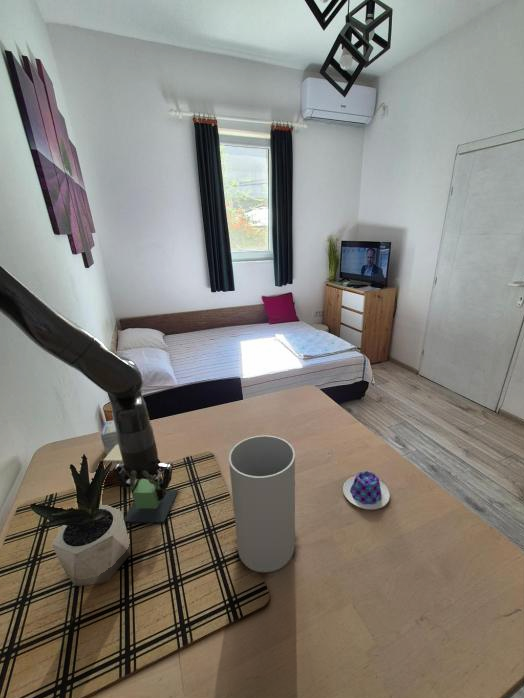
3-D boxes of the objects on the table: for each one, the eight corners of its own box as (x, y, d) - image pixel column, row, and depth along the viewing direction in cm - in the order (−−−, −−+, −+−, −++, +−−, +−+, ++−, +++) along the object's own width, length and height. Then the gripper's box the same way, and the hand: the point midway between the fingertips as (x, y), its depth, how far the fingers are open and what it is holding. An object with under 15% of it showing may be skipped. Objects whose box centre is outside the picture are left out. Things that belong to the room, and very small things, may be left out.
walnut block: (103, 484, 89) (100, 473, 88) (119, 463, 98) (117, 452, 96) (136, 484, 89) (133, 473, 88) (149, 463, 98) (147, 452, 96)
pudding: (333, 486, 88) (334, 471, 86) (368, 472, 93) (370, 457, 91) (362, 518, 78) (364, 502, 76) (399, 500, 83) (402, 484, 81)
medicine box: (122, 455, 101) (116, 431, 98) (106, 458, 100) (100, 435, 96) (124, 441, 108) (118, 418, 104) (109, 444, 106) (103, 421, 103)
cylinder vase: (304, 537, 73) (306, 447, 64) (275, 586, 64) (271, 487, 54) (259, 515, 79) (254, 429, 70) (226, 556, 69) (214, 462, 60)
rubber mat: (122, 522, 78) (122, 521, 77) (141, 491, 87) (140, 490, 87) (164, 523, 77) (163, 521, 77) (178, 492, 87) (177, 490, 86)
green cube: (136, 508, 79) (132, 492, 77) (145, 493, 84) (141, 477, 82) (156, 508, 79) (153, 492, 77) (164, 493, 84) (161, 478, 82)
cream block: (105, 470, 89) (103, 460, 87) (118, 454, 95) (116, 444, 94) (131, 470, 89) (128, 460, 87) (142, 454, 95) (140, 444, 94)
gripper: (173, 432, 78) (183, 487, 84) (114, 432, 78) (128, 487, 85) (161, 452, 71) (173, 510, 77) (97, 452, 71) (114, 509, 78)
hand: (150, 497), depth 81 cm, fingers closed on green cube, 5 cm apart
